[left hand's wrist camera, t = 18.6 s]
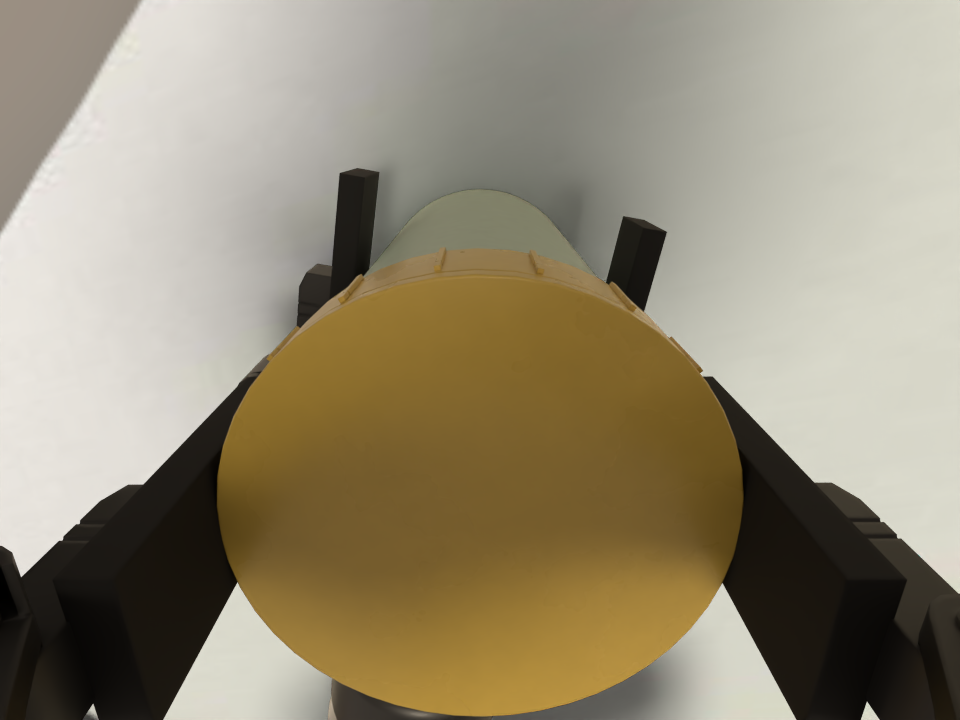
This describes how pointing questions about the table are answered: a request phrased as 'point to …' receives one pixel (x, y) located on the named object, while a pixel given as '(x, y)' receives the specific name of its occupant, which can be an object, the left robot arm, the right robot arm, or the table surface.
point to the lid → (480, 486)
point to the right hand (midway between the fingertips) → (504, 198)
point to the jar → (479, 229)
